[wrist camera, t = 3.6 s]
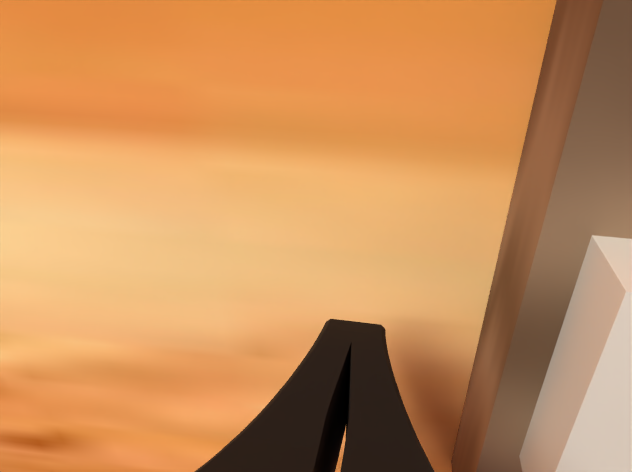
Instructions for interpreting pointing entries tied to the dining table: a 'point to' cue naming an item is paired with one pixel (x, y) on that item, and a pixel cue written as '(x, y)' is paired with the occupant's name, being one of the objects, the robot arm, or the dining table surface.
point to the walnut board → (552, 223)
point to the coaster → (589, 373)
